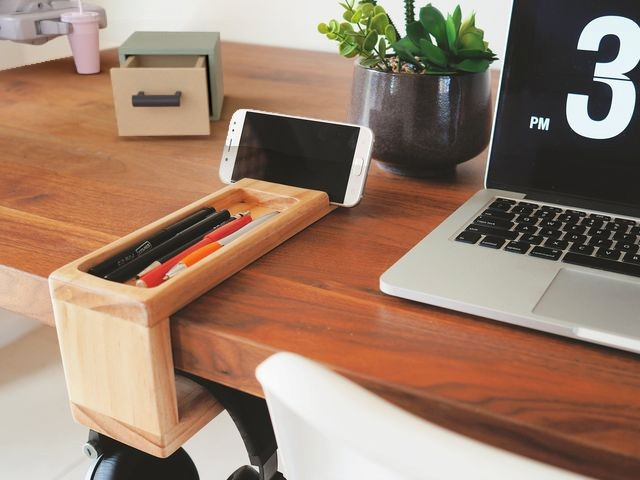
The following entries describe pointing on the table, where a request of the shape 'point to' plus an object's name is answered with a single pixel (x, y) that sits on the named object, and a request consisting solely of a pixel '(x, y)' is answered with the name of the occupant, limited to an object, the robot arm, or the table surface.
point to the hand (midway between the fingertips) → (86, 26)
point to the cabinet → (182, 46)
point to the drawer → (162, 95)
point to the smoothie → (84, 39)
